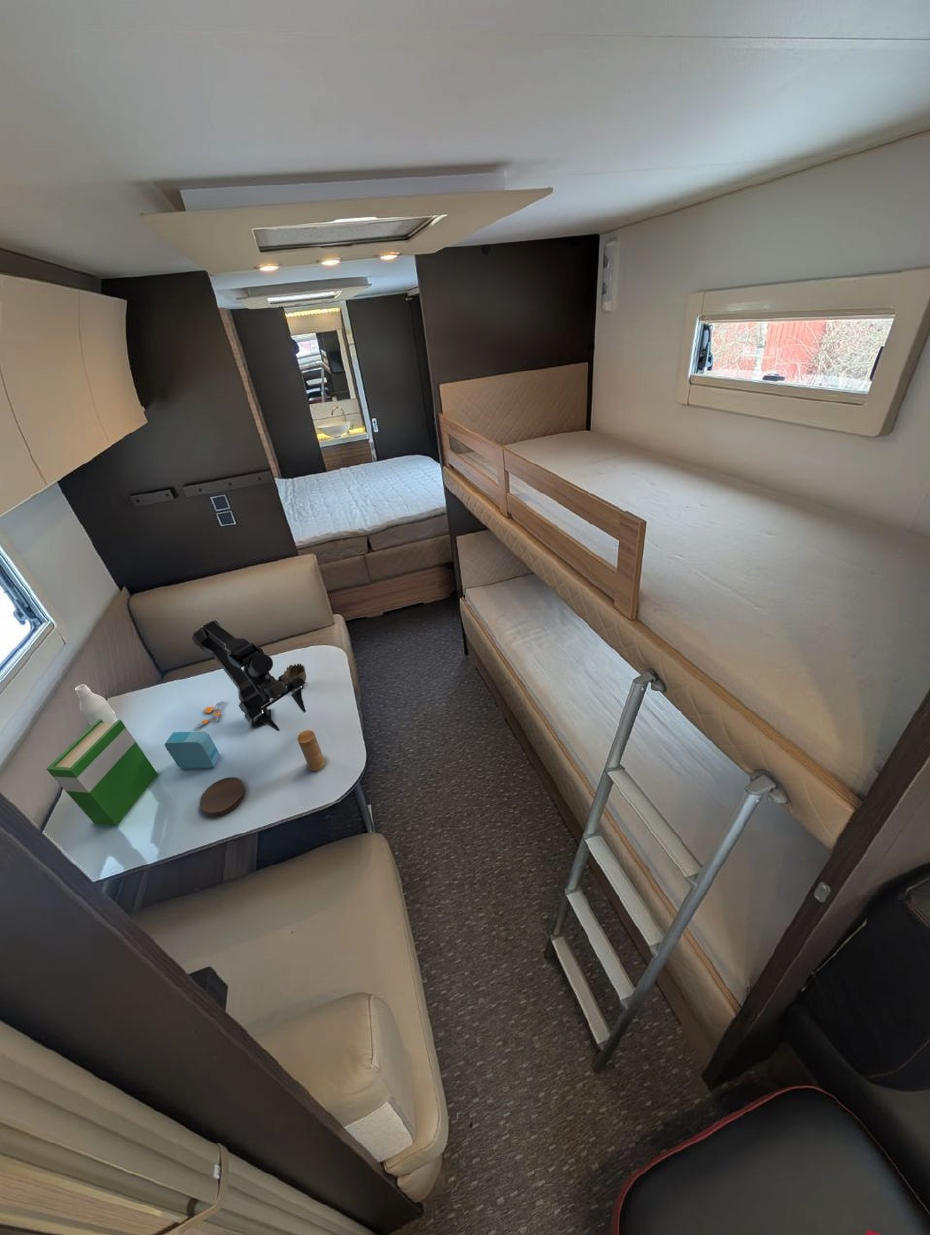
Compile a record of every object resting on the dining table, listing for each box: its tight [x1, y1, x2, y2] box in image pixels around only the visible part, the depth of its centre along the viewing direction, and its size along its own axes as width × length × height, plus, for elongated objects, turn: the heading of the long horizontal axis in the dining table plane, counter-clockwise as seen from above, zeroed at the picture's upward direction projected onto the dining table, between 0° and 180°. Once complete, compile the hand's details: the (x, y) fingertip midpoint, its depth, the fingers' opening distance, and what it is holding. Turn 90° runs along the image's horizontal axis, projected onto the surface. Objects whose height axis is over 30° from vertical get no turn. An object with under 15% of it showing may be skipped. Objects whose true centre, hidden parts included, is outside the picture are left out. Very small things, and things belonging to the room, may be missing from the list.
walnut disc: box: [199, 776, 247, 818], centre depth 139 cm, size 12×12×2 cm
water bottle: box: [74, 683, 118, 727], centre depth 156 cm, size 7×7×25 cm
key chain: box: [195, 701, 226, 730], centre depth 169 cm, size 13×7×1 cm, turn 2°
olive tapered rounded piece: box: [283, 663, 307, 687], centre depth 177 cm, size 8×7×8 cm
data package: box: [164, 730, 221, 770], centre depth 148 cm, size 12×4×12 cm, turn 87°
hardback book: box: [46, 719, 159, 827], centre depth 136 cm, size 18×7×24 cm, turn 172°
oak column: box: [296, 729, 326, 772], centre depth 143 cm, size 5×5×12 cm
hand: (292, 721), depth 144 cm, fingers open, 9 cm apart
